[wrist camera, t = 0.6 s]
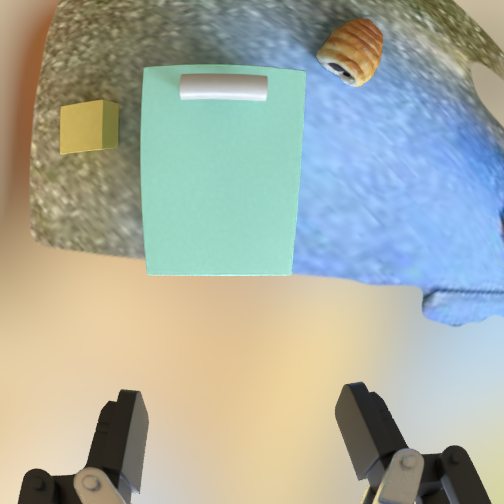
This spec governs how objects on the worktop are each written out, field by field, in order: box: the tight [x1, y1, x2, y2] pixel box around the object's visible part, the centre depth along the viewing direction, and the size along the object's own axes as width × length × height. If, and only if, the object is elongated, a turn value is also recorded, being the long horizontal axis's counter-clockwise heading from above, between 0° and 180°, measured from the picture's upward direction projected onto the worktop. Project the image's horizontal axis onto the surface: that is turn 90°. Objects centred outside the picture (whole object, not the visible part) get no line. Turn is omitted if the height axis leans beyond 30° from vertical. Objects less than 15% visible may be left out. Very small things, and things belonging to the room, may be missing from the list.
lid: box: [140, 64, 306, 276], centre depth 21 cm, size 17×13×5 cm
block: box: [60, 99, 119, 154], centre depth 26 cm, size 5×5×5 cm
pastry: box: [316, 18, 383, 87], centre depth 26 cm, size 9×7×4 cm
